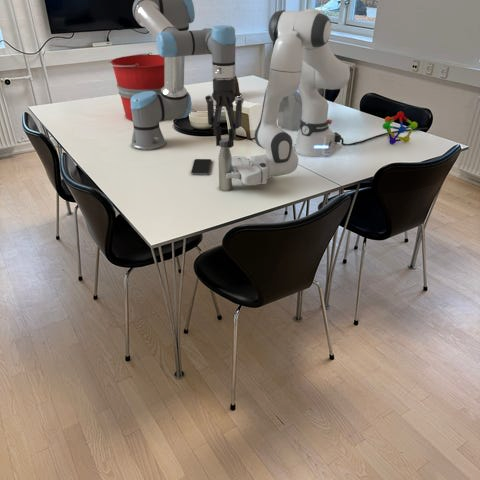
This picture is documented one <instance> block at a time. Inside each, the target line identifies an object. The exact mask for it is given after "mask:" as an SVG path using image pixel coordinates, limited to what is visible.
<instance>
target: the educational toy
mask: <svg viewBox="0 0 480 480" xmlns="http://www.w3.org/2000/svg"><path fill="white" fill-rule="evenodd" d="M397 119H399V124H400V125H399V127H398V126H393V125H391V124H392V123H394V122H395V121H396V120H397ZM403 120H404V121H405V122H407V123H408V124H409V125H407V126H404V123H403ZM417 127H418V122H417V121H411V120H410V119H409V118H408V117H406V116H405V113H404V112H403V111H401V110H400V111H398V112H397V114H396V115H394V116H391V117H390V116H386V117H385V118H384V122H383V123H382V129H383V130H386V133H388V135H387V138H388V142H389V145H395V144H396V143H397V142H402V141H403V142H404V143H409V142H410V140H411V138H410V136H411V134H412V132H413V131H412V130H413V129H417ZM392 129H393V130H396V131H399V132H398V133H392V132H393V131H392ZM406 129H410V131H408V133H407V134H406V135H404V136H401V134H403V133H405V132H406V131H405V130H406ZM399 135H400V136H399Z"/></svg>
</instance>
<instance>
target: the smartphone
mask: <svg viewBox="0 0 480 480" xmlns="http://www.w3.org/2000/svg"><path fill="white" fill-rule="evenodd" d="M211 165H212V159H211V158H195V159H194V160H193V163H192V168H191V172H190V173H191V175H201V176H202V175H203V176H206V175H210V170H211Z"/></svg>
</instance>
